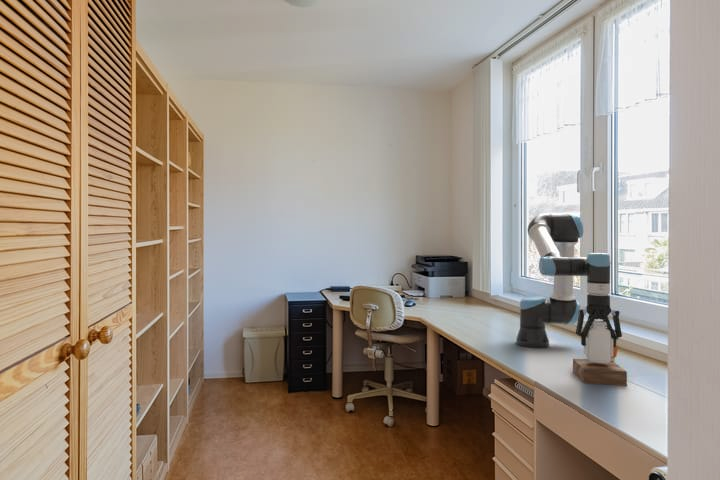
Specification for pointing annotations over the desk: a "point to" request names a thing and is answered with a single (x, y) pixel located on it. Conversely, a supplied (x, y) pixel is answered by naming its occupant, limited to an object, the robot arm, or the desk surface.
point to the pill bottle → (599, 343)
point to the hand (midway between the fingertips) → (598, 355)
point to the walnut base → (599, 372)
